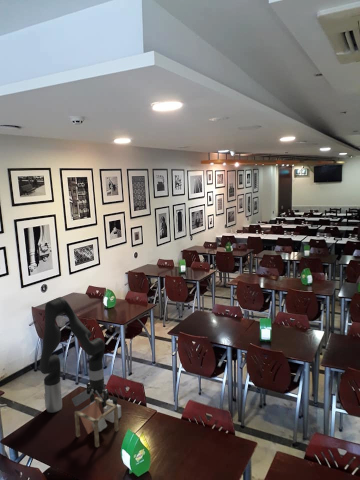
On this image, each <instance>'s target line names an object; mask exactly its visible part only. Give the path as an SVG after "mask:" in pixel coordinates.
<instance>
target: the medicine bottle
mask: <svg viewBox="0 0 360 480" xmlns="http://www.w3.org/2000/svg"><path fill="white" fill-rule="evenodd" d="M107 402H110V403H112V404H114V405H117V406H118V420H119V419H120V418H121V417H122V405H120V404H118V398H117V397H115V396H109V400H107ZM111 408H112V407H110V406H108V405H106V406H105V407H104V408H103V414H104V413H105V412H106V411H108V410H109V409H111ZM104 419H105V421H108V422H110V423H112V424H113V423H114V411H112V412H111V413H110V414H108V415H107V416H105V417H104Z"/></svg>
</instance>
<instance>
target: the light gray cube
mask: <svg viewBox="0 0 360 480" xmlns="http://www.w3.org/2000/svg"><path fill="white" fill-rule="evenodd" d="M92 427H93V429H94V423H92ZM107 427H108V424H107V422H106V420H104V418H103V419H101V420H100V421H99V422H98V432H99V433H100V432H102V431H103V430H104V429H106V428H107Z"/></svg>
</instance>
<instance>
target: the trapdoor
mask: <svg viewBox="0 0 360 480" xmlns="http://www.w3.org/2000/svg"><path fill="white" fill-rule="evenodd" d="M89 399H90V396H89V394H87V389H85V390H84V391H82V392H80V393H79V394H77V395H76V396H74V397H73V398H71V400H72V401H71V402H72V403H73V405H74V408H75V407H78V406H79V405H81V404H82V403H84V402H85V401H87V400H89ZM78 411H79V412H81V413H84V414H86V415H88V416H90V417H92V418H94V419H97V418H98V417H100V416H101V415H102V414H103V413H102V412H101V408H100V406H99V407H98V405H97V403H96V401H95V400H94V402H92V403H91V402H90V403H89V404H88V405H86V406H84V407H83V408H82V409H80V410H78ZM79 419H80V420H81V422H82V424H83V426H84V429H85V431H86V433H87V435H89V434H90V433H91V434H92V432H94V429H93V427H92V423H93V422H91V421H89V420H87V419H85V418H83V417H81V416H79ZM104 420H105V419H104ZM105 421H106V420H105Z"/></svg>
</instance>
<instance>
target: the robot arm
mask: <svg viewBox="0 0 360 480" xmlns="http://www.w3.org/2000/svg"><path fill="white" fill-rule="evenodd" d="M63 314H64V315H65V316H66V317H67V318H68V321H69V322H68V323H69V328H70V331H71V333H72V335H74V337H75V338H76V339H77V340H78V341H79V343H80V345H81V347H82V348H83V351H84V352H85V353H86V355H87V356H90V358H89V360H88V379H89V382H88V383H86V390H87V394H89V396H90V398H89V401H90V404H91V403H92V402H94V401H95V395H96V396H97V397H98V398H101V400H102V403H101V408H102V409H104V407H106V406H107V405H106V401H107V400H109V397H110V396H109V389H108V388H106V389H105V388H104V385H105V377H104V376H105V375H104V366H103V364H104V363H103V362H104V361H103V358H104V354H105V349H106V348H105V347H106V346H105V342H104V340H103V339H102V338H100V337H96V338H95V339H91V340H90V338H91V337H92V332H91V331H90V330H89V329H88V328H87V327H86V325H85V324H84V323H83V322H82V321H81V320H80V319H79V317H78V315H77V314H76V312H75V311H74V308H72V306H71V305H70V304H69V302H68V301H67V300H66V299H65V298H64V297H61V296H59V297H56V298H54V299H51V300H49V301H47V302H46V303H45V307H44V332H43V341H42V351H41V355H40V358H39V359H40V360H39V370H40V373H42V374H43V375H46V376H45V377H44V379H43V384H44V385H43V387H44V406H45V409H46V411H47V413H57V412H60V410H62V409H63V397H62V384H61V383H62V382H61V377H62V376H61V360H60V358H59V356H58V355H57V354H53V353H54V352H55V350H56V349H57V348H58V347H59V345H60V343H61V337H62V331H61V329H60V327H58V325H57V324H56V319H57V317H59V316H61V315H63Z"/></svg>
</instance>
